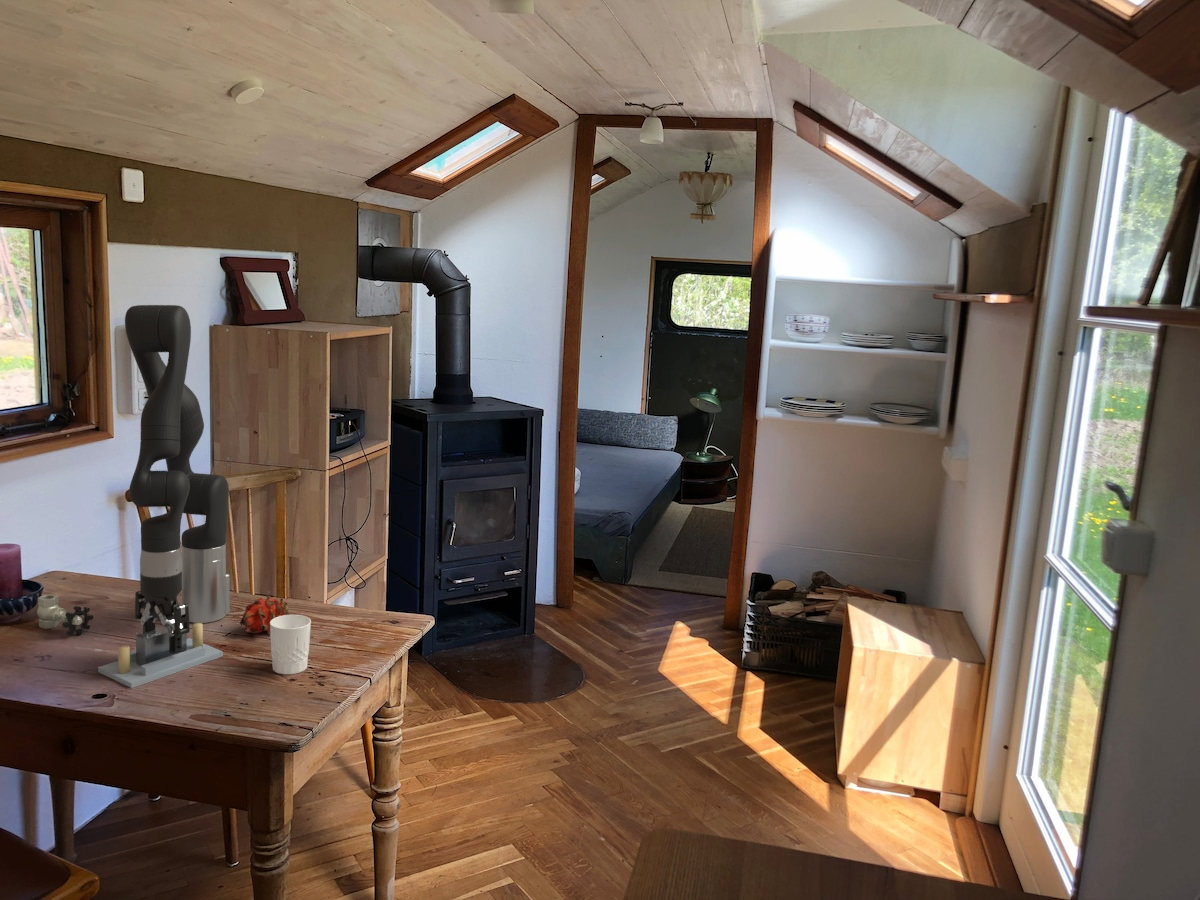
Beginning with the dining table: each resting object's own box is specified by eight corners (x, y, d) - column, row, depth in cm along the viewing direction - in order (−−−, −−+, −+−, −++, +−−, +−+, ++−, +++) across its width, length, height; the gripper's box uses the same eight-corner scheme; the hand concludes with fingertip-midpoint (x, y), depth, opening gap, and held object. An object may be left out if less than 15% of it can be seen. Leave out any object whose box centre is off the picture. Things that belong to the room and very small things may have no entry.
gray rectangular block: (177, 650, 193) (177, 622, 192) (186, 654, 191) (186, 626, 190) (136, 664, 185) (135, 635, 184) (145, 668, 184) (144, 639, 183)
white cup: (268, 662, 193) (268, 616, 191) (307, 658, 196) (308, 613, 194) (270, 677, 186) (271, 630, 184) (312, 673, 189) (313, 627, 187)
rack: (189, 642, 200) (189, 615, 199) (223, 656, 194) (222, 628, 193) (98, 672, 183) (97, 643, 182) (131, 688, 177) (131, 658, 176)
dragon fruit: (293, 631, 213) (245, 652, 205) (273, 603, 216) (225, 622, 207) (302, 610, 208) (253, 631, 199) (282, 581, 211) (233, 600, 202)
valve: (28, 628, 201) (65, 641, 196) (26, 599, 200) (64, 611, 195) (57, 619, 207) (94, 631, 202) (55, 590, 206) (93, 602, 201)
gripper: (200, 573, 184) (201, 650, 187) (156, 557, 192) (157, 632, 195) (165, 582, 178) (166, 662, 181) (121, 565, 185) (123, 643, 188)
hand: (162, 646), depth 188 cm, fingers open, 8 cm apart
